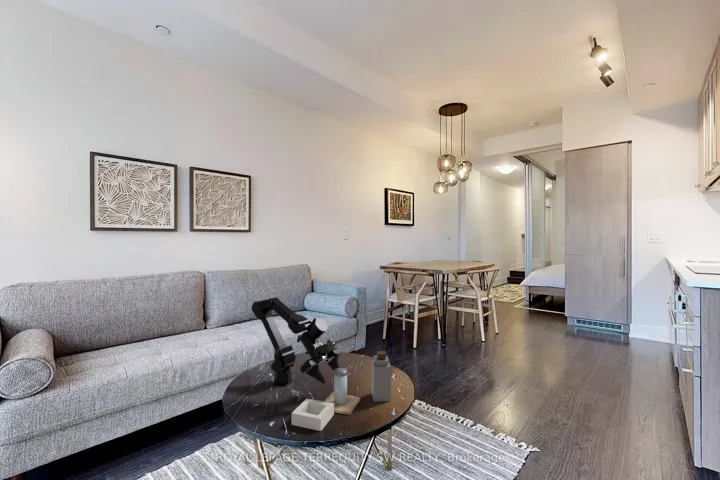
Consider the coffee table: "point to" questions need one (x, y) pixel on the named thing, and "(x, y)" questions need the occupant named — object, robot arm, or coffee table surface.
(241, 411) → the coffee table surface
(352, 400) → the board
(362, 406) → the coffee table surface
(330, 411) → the box
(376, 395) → the perfume bottle
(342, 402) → the cylinder
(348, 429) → the coffee table surface
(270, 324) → the robot arm
